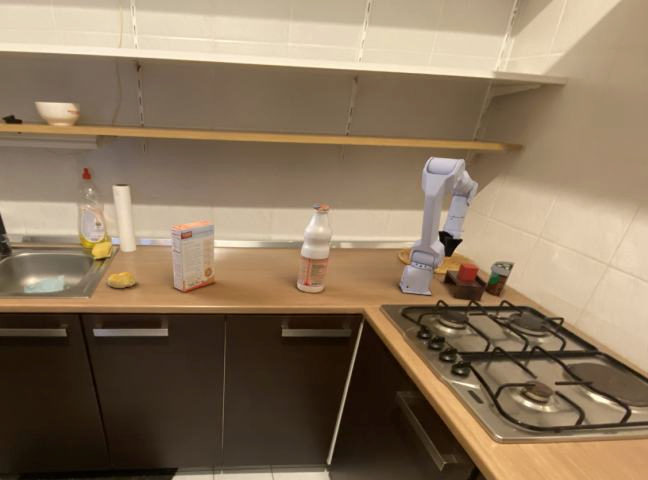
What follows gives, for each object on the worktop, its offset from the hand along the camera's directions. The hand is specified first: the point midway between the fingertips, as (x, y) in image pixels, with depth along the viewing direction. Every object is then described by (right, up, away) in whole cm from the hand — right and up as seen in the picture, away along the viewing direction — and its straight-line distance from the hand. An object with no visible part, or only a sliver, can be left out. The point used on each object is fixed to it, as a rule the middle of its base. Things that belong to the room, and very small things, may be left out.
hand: (444, 253), depth 143 cm
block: (+4, -10, -7) cm, 13 cm away
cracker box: (-93, -14, -9) cm, 94 cm away
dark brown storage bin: (+4, -15, -4) cm, 16 cm away
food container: (+16, -14, -2) cm, 22 cm away
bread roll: (-117, -13, -11) cm, 119 cm away
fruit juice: (-52, -14, -7) cm, 54 cm away
